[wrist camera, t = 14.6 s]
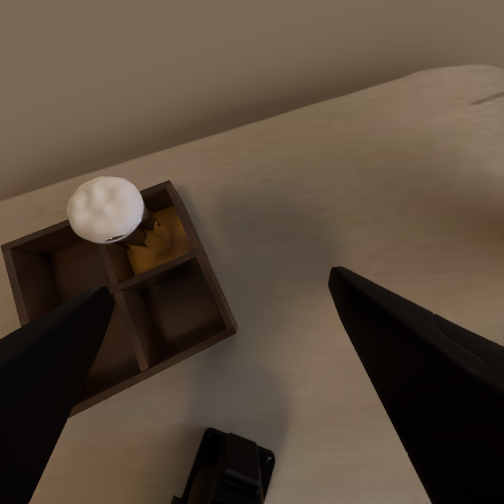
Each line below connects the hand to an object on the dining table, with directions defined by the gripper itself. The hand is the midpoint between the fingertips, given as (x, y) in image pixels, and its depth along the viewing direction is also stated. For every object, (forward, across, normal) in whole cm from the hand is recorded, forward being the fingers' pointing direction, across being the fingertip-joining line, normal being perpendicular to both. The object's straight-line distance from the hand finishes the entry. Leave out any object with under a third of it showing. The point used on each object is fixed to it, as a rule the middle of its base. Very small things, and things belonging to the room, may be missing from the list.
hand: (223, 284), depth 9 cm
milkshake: (+13, +7, +5) cm, 16 cm away
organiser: (+10, +10, +8) cm, 16 cm away
